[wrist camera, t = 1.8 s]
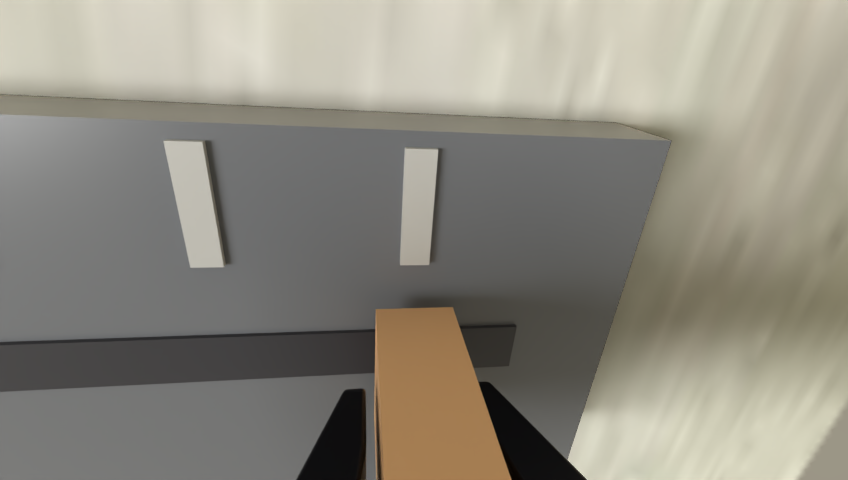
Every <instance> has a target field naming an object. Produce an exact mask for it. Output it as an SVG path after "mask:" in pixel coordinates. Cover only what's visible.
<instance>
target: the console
mask: <svg viewBox="0 0 848 480" xmlns="http://www.w3.org/2000/svg"><path fill="white" fill-rule="evenodd" d="M670 144H671V140H668V139H665V138H662V137H659V136H655V135H652V134H649V133H646V132H643V131H640V130H637V129H634V128H631V127H628V126H625V125H621V124H618V123H614V122H592V121H570V120H548V119H526V118H504V117H482V116H460V115H438V114H416V113H394V112H372V111H350V110H328V109H306V108H284V107H262V106H240V105H218V104H196V103H175V102H153V101H131V100H109V99H87V98H65V97H43V96H21V95H0V480H296V479H297V477H298V475H299V473H300V471H301V469H302V468H303V466H304V464H305V462H306V460H307V458H308V456H309V454H310V453H311V451H312V449H313V447H314V445H315V443H316V441H317V440H318V438H319V436H320V434H321V432H322V430H323V428H324V426H325V425H326V423H327V421H328V419H329V417H330V415H331V413H332V411H333V410H334V408H335V406H336V404H337V402H338V400H339V398H340V397H341V395H342V393H343V392H344V391H345V390H346V389H360V388H362V389H365V391H366V480H376V457H375V425H374V391H375V325H376V309H401V308H438V307H453V309H454V312H455V315H456V318H457V321H458V324H459V327H460V330H461V333H462V336H463V339H464V342H465V345H466V348H467V351H468V354H469V356H470V359H471V362H472V365H473V368H474V371H475V374H476V377H477V380H478V382H485V381H486V382H489V383H491V384H492V385H493V386H494V387H495V388H496V389H497V390H498V391H499V392H500V393H501V394H502V395H503V396H504V397H505V398H506V399H507V400H508V401H509V402H510V403H511V404H512V405H513V406H514V407H515V408H516V409H517V410H518V411H519V412H520V413H521V414H522V415H523V416H524V417H525V418H526V419H527V420H528V421H529V422H530V423H531V424H532V425H533V426H534V427H535V428H536V429H537V430H538V431H539V432H540V433H541V434H542V435H543V436H544V437H545V438H546V439H547V440H548V441H549V442H550V443H551V444H552V445H553V446H554V447H555V448H556V449H557V450H558V451H559V452H560V453H561V454H562V455H563V456H564V457H565V458H566V459H568V456H569V453H570V450H571V447H572V444H573V441H574V437H575V434H576V431H577V428H578V425H579V422H580V419H581V416H582V413H583V410H584V407H585V404H586V401H587V398H588V395H589V392H590V389H591V385H592V382H593V379H594V376H595V373H596V370H597V367H598V364H599V361H600V358H601V355H602V352H603V349H604V346H605V343H606V340H607V337H608V334H609V330H610V327H611V324H612V321H613V318H614V315H615V312H616V309H617V306H618V303H619V300H620V297H621V294H622V291H623V288H624V285H625V282H626V278H627V275H628V272H629V269H630V266H631V263H632V260H633V257H634V254H635V251H636V248H637V245H638V242H639V239H640V236H641V233H642V230H643V227H644V223H645V220H646V217H647V214H648V211H649V208H650V205H651V202H652V199H653V196H654V193H655V190H656V187H657V184H658V181H659V178H660V175H661V171H662V168H663V165H664V162H665V159H666V156H667V153H668V150H669V147H670Z"/></svg>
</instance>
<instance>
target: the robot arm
mask: <svg viewBox="0 0 848 480" xmlns="http://www.w3.org/2000/svg"><path fill="white" fill-rule="evenodd" d="M478 383H479V386H480V389H481V392H482V395H483V398H484V401H485V404H486V407H487V409H488V412H489V415H490V418H491V421H492V424H493V427H494V430H495V433H496V436H497V439H498V442H499V445H500V448H501V451H502V454H503V457H504V460H505V462H506V465H507V468H508V471H509V474H510V477H511V480H587V479H586V478H585V477H584V476H583V475H582V474H581V473H580V472H579V471H578V470H577V469H576V468H575V467H574V466H573V465H572V464H571V463H570V462H569V461H568V460H567V459H566V458H565V457H564V456H563V455H562V454H561V453H560V452H559V451H558V450H557V449H556V448H555V447H554V446H553V445H552V444H551V443H550V442H549V441H548V440H547V439H546V438H545V437H544V436H543V435H542V434H541V433H540V432H539V431H538V430H537V429H536V428H535V427H534V426H533V425H532V424H531V423H530V422H529V421H528V420H527V419H526V418H525V417H524V416H523V415H522V414H521V413H520V412H519V411H518V410H517V409H516V408H515V407H514V406H513V405H512V404H511V403H510V402H509V401H508V400H507V399H506V398H505V397H504V396H503V395H502V394H501V393H500V392H499V391H498V390H497V389H496V388H495V387H494V386H493V385H492V384H491V383H489V382H486V381H485V382H478ZM296 480H366V391H365V389H362V388H360V389H346V390H345V391H344V392H343V393H342V395H341V397H340V398H339V400H338V402H337V404H336V406H335V408H334V410H333V411H332V413H331V415H330V417H329V419H328V421H327V423H326V425H325V426H324V428H323V430H322V432H321V434H320V436H319V438H318V440H317V441H316V443H315V445H314V447H313V449H312V451H311V453H310V454H309V456H308V458H307V460H306V462H305V464H304V466H303V468H302V469H301V471H300V473H299V475H298V477H297V479H296Z"/></svg>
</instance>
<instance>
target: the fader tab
mask: <svg viewBox="0 0 848 480" xmlns="http://www.w3.org/2000/svg"><path fill="white" fill-rule="evenodd" d="M374 425H375V457H376V480H511V477H510V474H509V471H508V468H507V465H506V462H505V460H504V457H503V454H502V451H501V448H500V445H499V442H498V439H497V436H496V433H495V430H494V427H493V424H492V421H491V418H490V415H489V412H488V409H487V407H486V404H485V401H484V398H483V395H482V392H481V389H480V386H479V383H478V380H477V377H476V374H475V371H474V368H473V365H472V362H471V359H470V356H469V354H468V351H467V348H466V345H465V342H464V339H463V336H462V333H461V330H460V327H459V324H458V321H457V318H456V315H455V312H454V309H453V307H438V308H401V309H376V325H375V391H374Z"/></svg>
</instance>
